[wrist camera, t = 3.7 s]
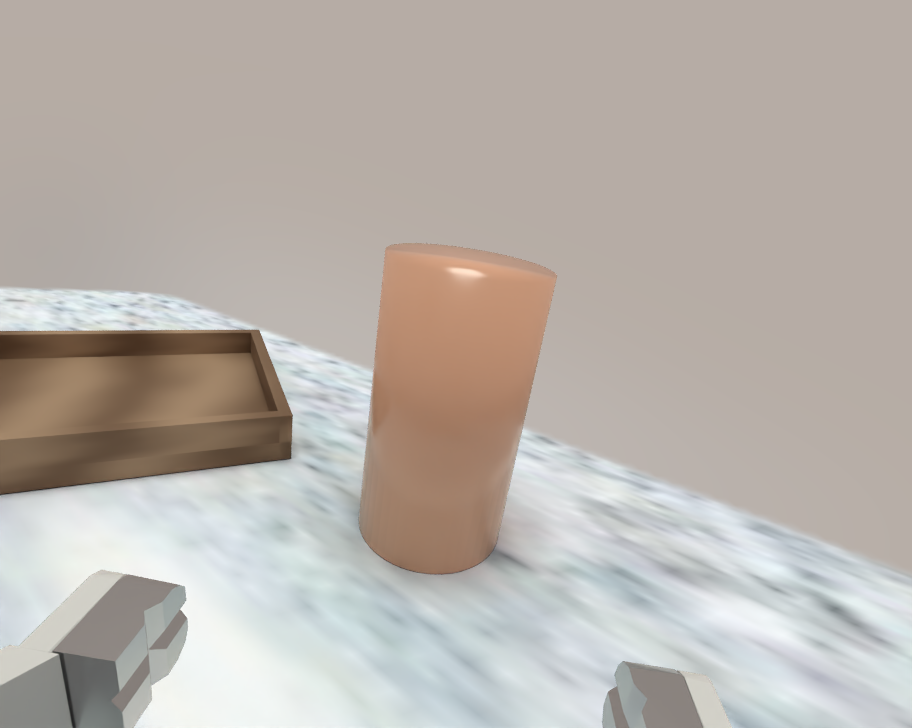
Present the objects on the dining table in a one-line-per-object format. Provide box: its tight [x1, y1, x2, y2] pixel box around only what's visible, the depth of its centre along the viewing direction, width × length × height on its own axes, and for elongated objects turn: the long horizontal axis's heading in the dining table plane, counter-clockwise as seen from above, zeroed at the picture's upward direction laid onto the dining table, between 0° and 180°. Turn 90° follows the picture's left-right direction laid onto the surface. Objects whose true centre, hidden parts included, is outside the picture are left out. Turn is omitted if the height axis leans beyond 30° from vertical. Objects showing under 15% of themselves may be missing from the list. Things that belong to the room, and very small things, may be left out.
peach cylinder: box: [359, 243, 557, 574], centre depth 21 cm, size 6×6×12 cm
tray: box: [0, 330, 293, 494], centre depth 27 cm, size 16×13×2 cm
